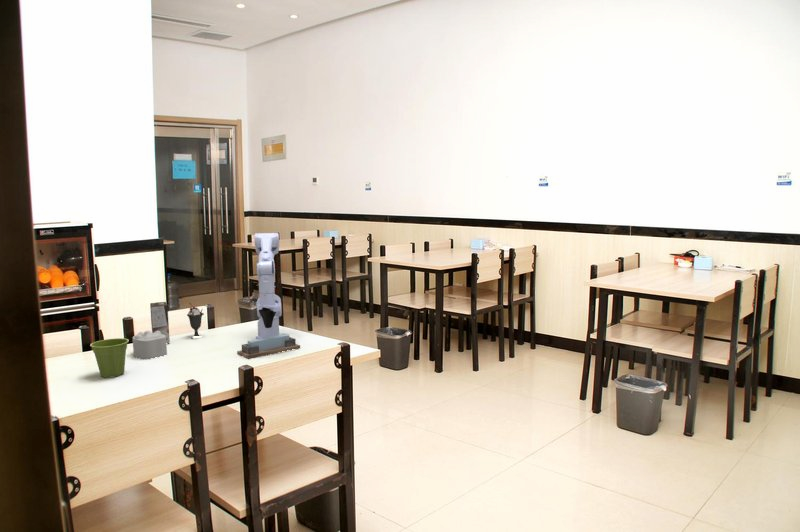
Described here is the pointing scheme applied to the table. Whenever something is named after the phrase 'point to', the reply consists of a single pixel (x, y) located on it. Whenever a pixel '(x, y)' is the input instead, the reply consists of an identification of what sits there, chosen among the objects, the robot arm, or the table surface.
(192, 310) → the sundae
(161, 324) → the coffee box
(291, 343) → the board
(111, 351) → the plant pot
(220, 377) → the table surface
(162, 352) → the lumpy-topped squat cylinder
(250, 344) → the slat
